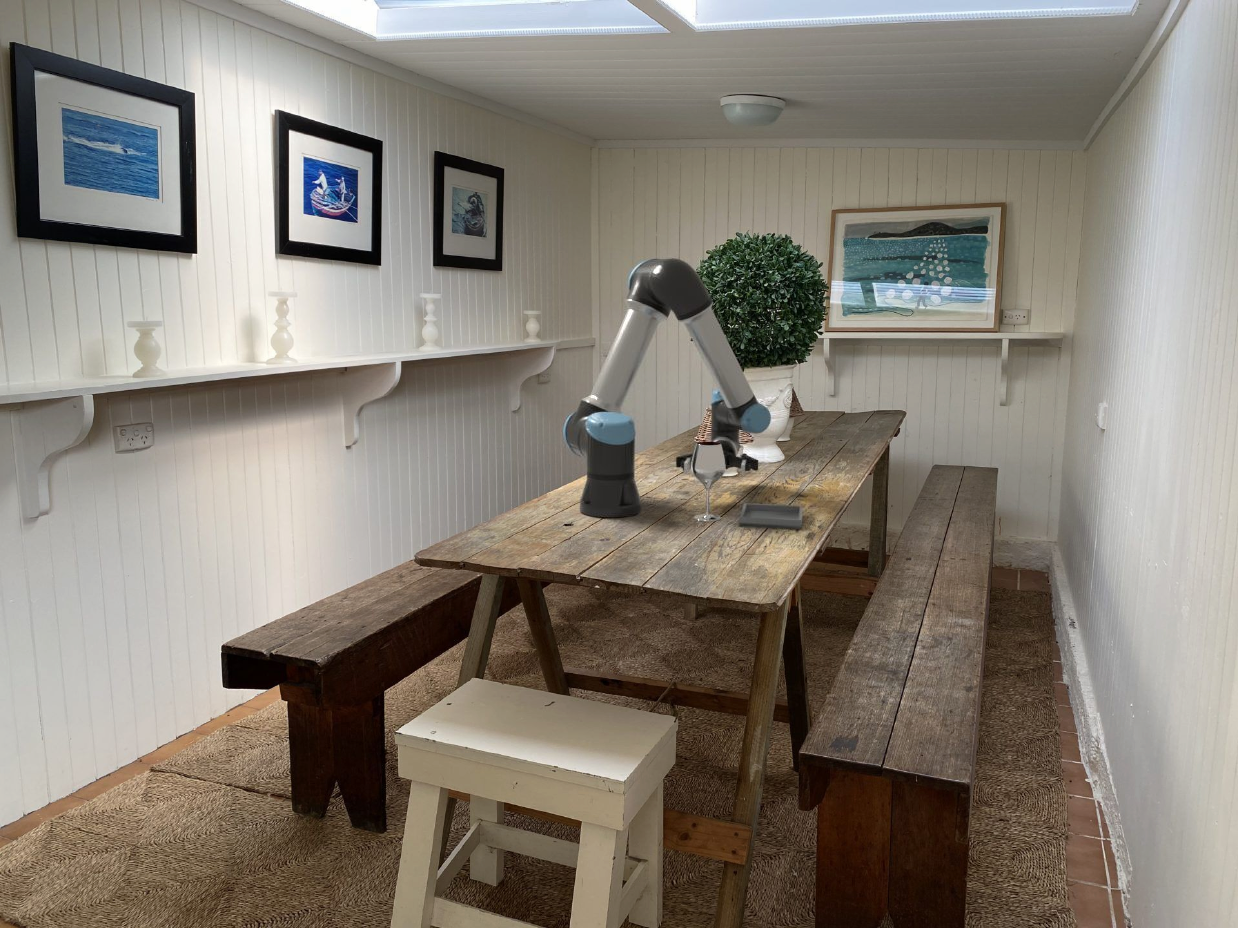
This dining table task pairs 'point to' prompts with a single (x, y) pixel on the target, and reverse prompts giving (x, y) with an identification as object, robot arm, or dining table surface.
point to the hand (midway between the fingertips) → (713, 469)
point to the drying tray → (771, 516)
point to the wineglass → (708, 471)
